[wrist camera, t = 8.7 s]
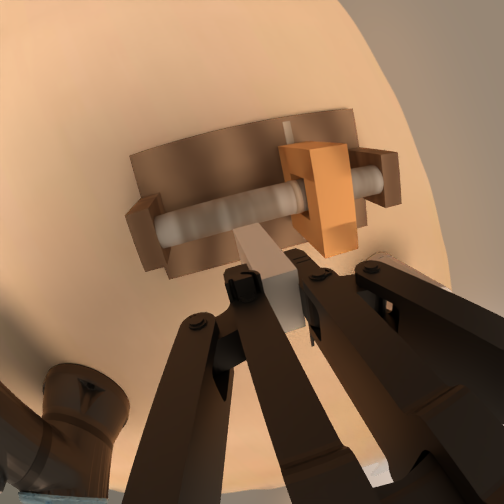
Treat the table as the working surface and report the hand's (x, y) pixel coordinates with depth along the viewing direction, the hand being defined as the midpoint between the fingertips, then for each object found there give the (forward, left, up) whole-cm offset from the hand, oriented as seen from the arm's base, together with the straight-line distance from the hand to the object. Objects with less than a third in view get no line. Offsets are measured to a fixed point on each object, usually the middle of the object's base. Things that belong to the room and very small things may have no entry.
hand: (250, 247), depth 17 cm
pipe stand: (+4, 0, -15) cm, 15 cm away
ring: (+7, 0, -12) cm, 14 cm away
